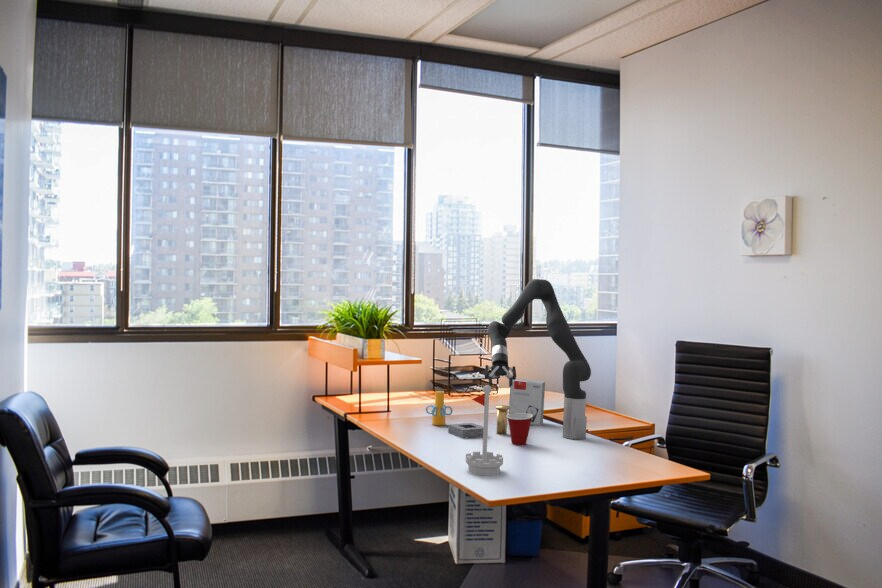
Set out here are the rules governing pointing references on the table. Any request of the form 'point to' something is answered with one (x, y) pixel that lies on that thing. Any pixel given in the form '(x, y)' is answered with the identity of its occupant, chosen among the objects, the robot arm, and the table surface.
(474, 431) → the jig
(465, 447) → the table surface
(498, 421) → the gold capped peg
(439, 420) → the tube with loops
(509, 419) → the plastic cup
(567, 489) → the table surface
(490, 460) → the flag stand
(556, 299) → the robot arm
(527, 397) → the hard drive box
